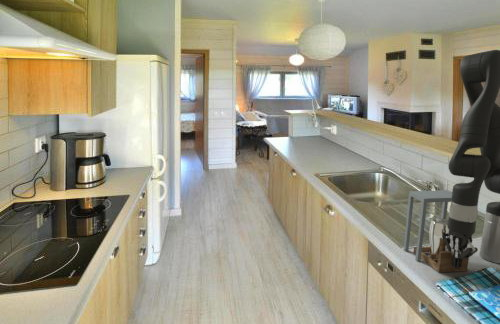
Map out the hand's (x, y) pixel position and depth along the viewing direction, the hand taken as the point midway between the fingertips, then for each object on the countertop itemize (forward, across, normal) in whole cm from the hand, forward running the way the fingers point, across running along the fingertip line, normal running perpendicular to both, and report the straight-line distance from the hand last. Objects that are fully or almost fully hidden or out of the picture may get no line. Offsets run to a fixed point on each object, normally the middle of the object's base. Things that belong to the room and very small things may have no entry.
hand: (456, 267), depth 109 cm
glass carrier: (+3, -10, +2) cm, 11 cm away
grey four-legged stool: (+3, -16, +2) cm, 16 cm away
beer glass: (+4, -11, +2) cm, 12 cm away
